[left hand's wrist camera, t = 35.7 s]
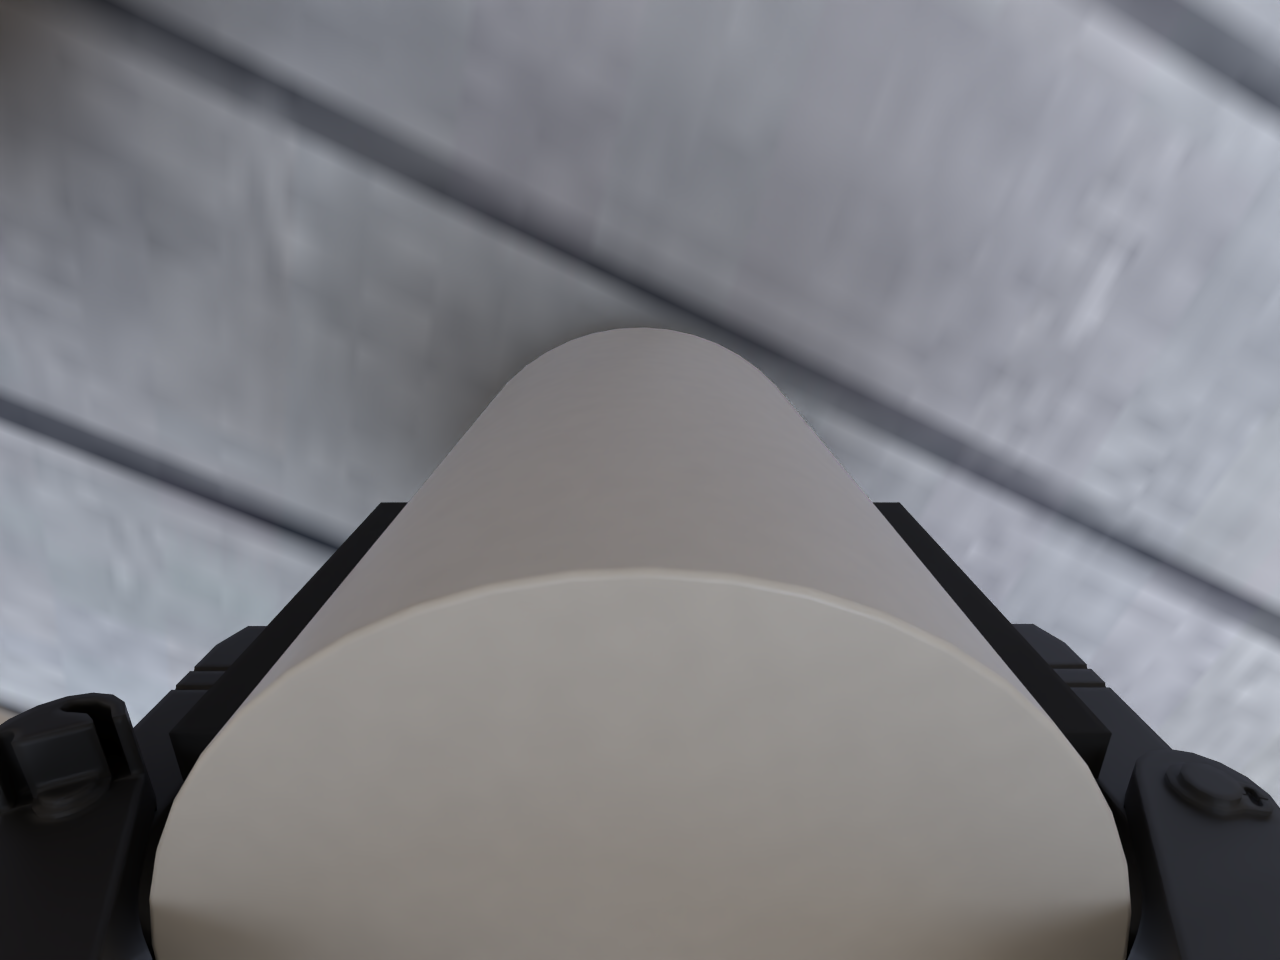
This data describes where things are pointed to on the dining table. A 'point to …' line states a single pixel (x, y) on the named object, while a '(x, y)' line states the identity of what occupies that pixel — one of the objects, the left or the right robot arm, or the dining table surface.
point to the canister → (640, 716)
